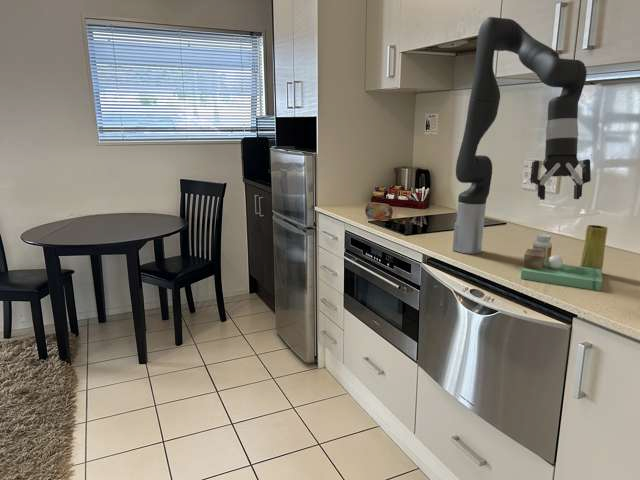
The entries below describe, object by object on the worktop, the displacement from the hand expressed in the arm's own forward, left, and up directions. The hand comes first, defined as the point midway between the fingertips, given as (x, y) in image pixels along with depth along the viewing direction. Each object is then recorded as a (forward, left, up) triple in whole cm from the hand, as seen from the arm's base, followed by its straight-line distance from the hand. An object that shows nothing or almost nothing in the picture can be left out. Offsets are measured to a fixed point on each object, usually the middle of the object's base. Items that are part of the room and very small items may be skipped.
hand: (559, 199), depth 126 cm
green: (+3, +8, -24) cm, 25 cm away
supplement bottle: (-4, +20, -24) cm, 31 cm away
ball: (+1, +8, -19) cm, 21 cm away
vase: (+10, +19, -24) cm, 32 cm away
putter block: (-5, +8, -21) cm, 23 cm away
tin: (-77, +63, -24) cm, 102 cm away
